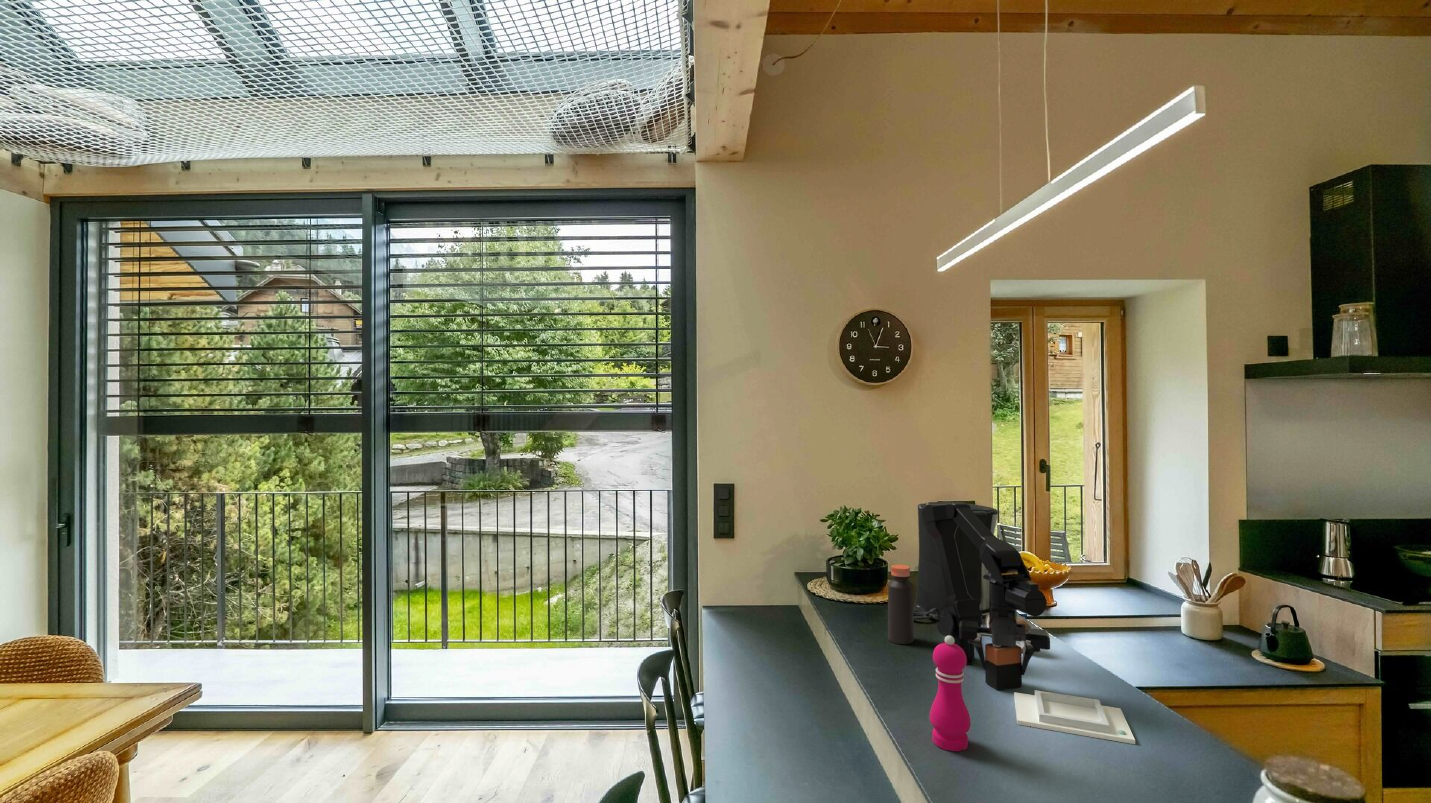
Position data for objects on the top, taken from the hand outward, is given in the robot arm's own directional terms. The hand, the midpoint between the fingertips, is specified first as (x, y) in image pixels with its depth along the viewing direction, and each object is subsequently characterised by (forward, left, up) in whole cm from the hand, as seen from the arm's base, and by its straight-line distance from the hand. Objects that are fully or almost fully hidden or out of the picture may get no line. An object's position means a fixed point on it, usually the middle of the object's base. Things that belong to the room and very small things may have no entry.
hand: (1003, 671), depth 146 cm
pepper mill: (-10, -32, -3) cm, 34 cm away
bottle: (-25, +21, -3) cm, 33 cm away
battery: (0, 0, -3) cm, 3 cm away
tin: (+2, +28, -3) cm, 28 cm away
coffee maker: (-16, +54, -3) cm, 57 cm away
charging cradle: (+12, -12, -3) cm, 17 cm away
